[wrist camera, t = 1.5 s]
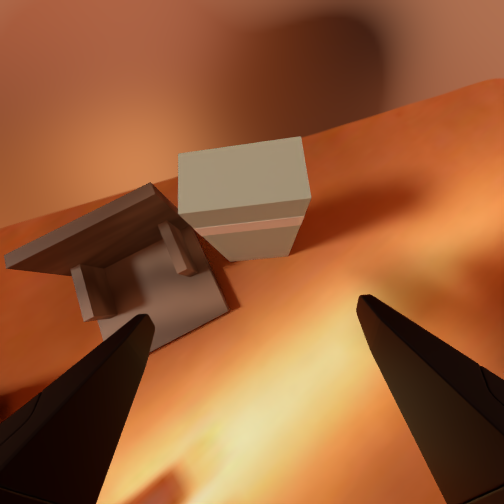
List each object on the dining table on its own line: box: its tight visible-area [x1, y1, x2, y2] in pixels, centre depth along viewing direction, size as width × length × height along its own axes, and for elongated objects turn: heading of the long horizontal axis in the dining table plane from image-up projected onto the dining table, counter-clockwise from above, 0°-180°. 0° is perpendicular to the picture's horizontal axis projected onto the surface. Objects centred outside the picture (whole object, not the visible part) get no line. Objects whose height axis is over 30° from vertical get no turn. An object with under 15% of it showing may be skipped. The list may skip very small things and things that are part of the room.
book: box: [178, 137, 311, 262], centre depth 16 cm, size 4×6×13 cm, turn 95°
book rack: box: [4, 183, 230, 353], centre depth 19 cm, size 12×13×8 cm
